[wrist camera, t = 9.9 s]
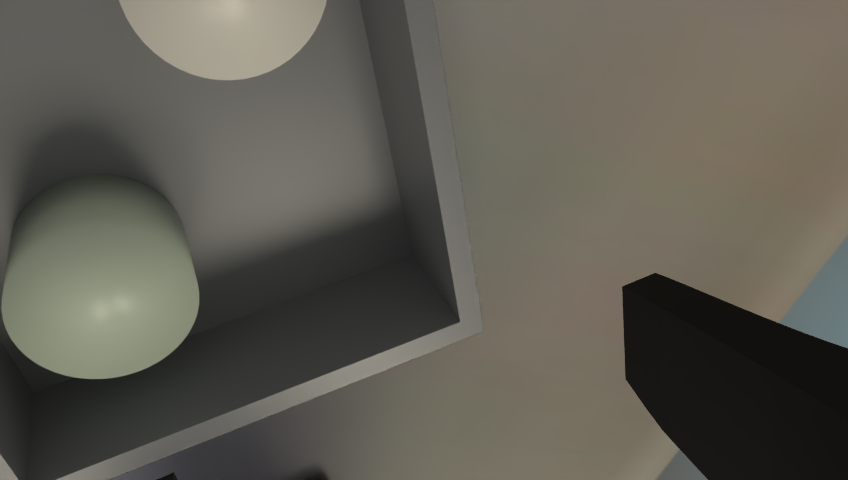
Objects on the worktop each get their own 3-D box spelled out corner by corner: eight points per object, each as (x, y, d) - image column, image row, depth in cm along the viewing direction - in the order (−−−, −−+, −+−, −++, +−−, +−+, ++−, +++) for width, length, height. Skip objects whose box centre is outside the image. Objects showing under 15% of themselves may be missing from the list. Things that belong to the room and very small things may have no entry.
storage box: (427, 256, 23) (483, 331, 20) (21, 404, 21) (11, 518, 17) (320, -297, 15) (384, -320, 12) (-355, -174, 13) (-499, -163, 10)
